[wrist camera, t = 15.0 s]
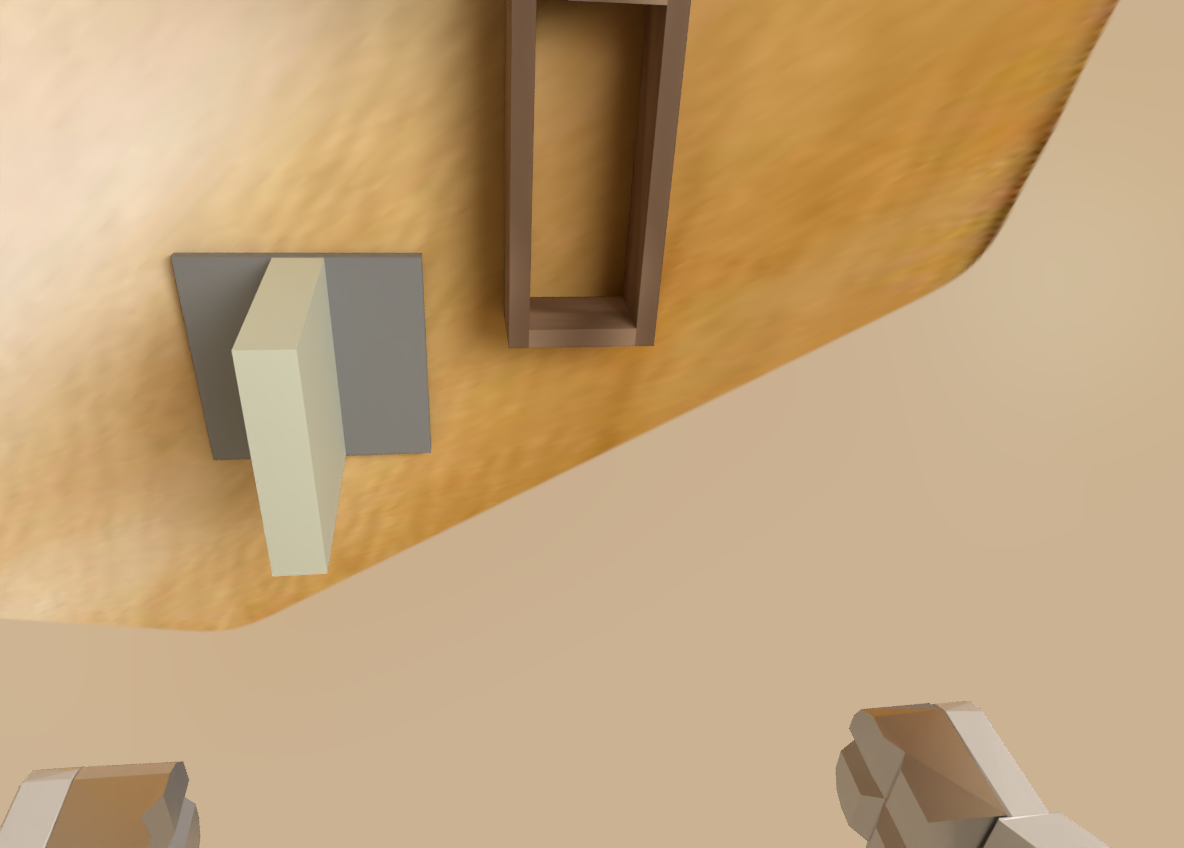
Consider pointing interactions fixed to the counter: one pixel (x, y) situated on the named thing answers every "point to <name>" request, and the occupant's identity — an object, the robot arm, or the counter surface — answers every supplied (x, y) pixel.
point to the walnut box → (650, 194)
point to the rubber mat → (360, 336)
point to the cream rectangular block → (293, 413)
